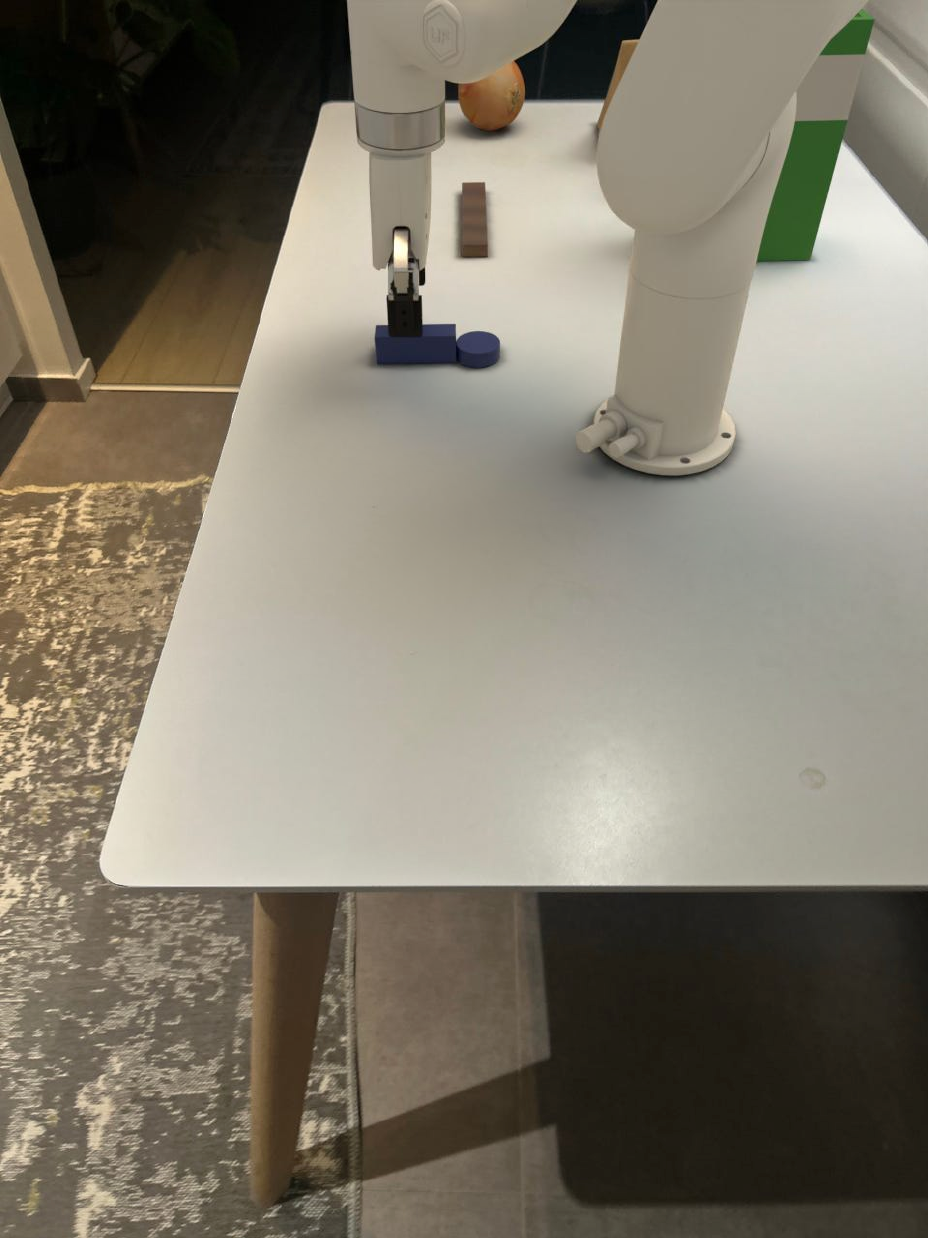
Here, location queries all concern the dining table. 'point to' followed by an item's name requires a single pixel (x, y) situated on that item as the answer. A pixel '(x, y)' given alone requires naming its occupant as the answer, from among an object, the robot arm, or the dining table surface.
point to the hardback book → (815, 144)
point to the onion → (493, 98)
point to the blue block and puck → (438, 347)
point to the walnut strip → (474, 220)
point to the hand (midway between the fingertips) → (407, 309)
